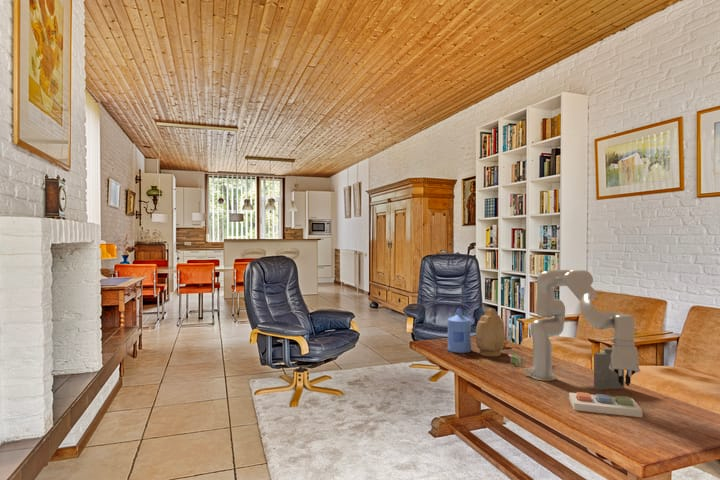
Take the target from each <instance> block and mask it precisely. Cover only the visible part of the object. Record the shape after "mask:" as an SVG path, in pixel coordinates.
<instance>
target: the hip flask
mask: <svg viewBox="0 0 720 480" xmlns="http://www.w3.org/2000/svg"><path fill="white" fill-rule="evenodd" d="M611 350H612V347H604V348H603V351H604V352H596V353H595V352H594V353H593V389H594V390H595V391H602V390H603V391H604V390H615V389H616V390H617V389H618V390H620V389H621V390H623V389H625V370H622V376H623V385H621V384H620V383H619V382H618V374H617V373H616V372H615V371H612V370H610V369H609V365H610V363H611Z"/></svg>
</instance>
